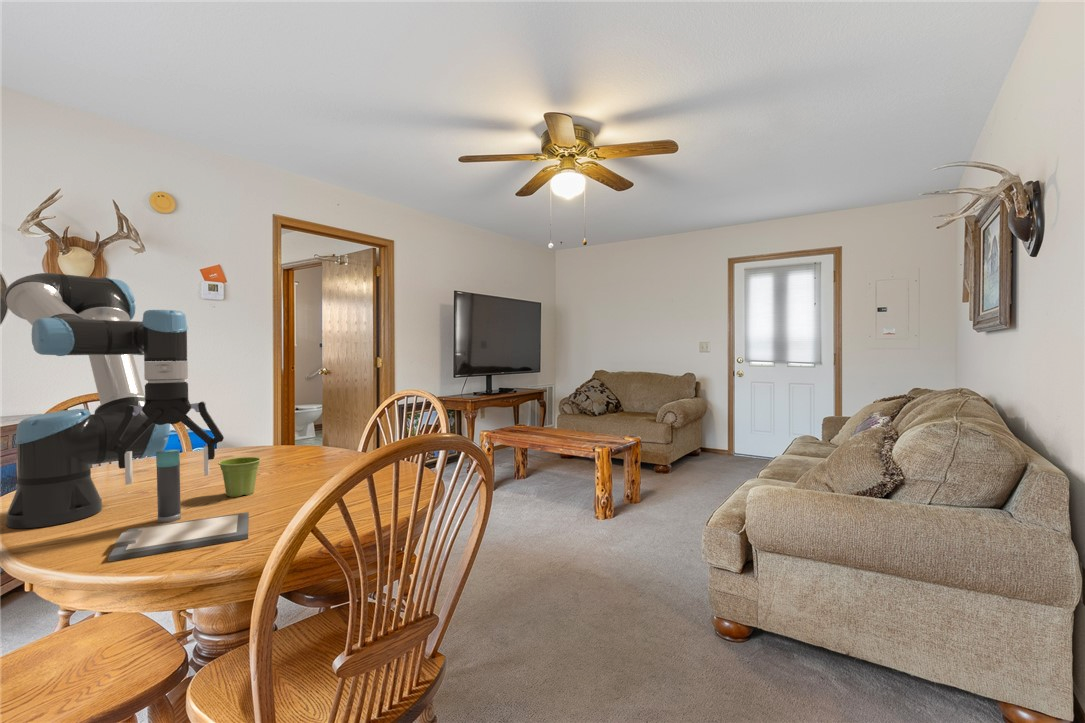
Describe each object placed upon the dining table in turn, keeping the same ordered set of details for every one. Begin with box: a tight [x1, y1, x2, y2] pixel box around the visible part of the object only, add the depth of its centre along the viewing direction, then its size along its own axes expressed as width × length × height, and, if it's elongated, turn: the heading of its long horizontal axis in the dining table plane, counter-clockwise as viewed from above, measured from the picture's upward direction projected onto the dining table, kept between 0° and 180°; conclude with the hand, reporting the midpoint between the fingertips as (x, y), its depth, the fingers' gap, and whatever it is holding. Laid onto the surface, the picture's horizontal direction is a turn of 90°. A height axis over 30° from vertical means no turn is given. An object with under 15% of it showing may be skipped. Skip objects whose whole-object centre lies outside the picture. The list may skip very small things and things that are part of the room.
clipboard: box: [108, 511, 250, 563], centre depth 98 cm, size 21×15×2 cm
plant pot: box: [217, 456, 262, 498], centre depth 128 cm, size 9×9×9 cm
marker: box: [155, 449, 182, 524], centre depth 108 cm, size 4×4×15 cm
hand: (169, 478), depth 108 cm, fingers open, 13 cm apart
